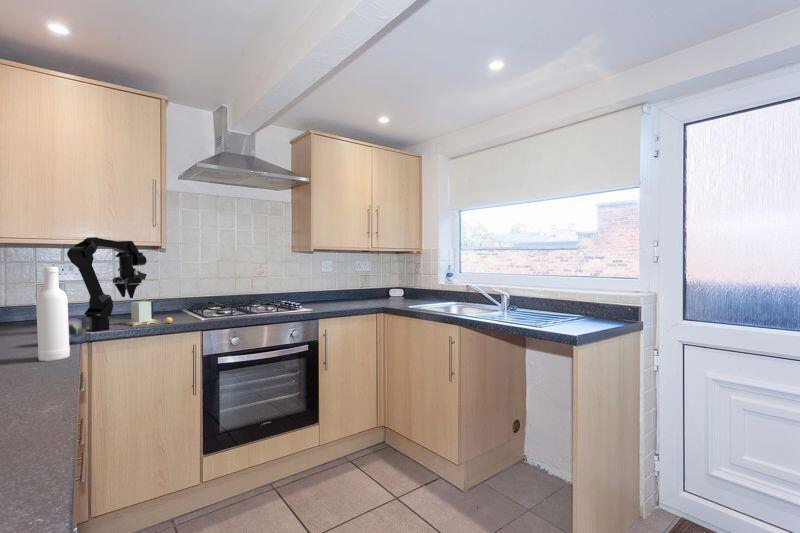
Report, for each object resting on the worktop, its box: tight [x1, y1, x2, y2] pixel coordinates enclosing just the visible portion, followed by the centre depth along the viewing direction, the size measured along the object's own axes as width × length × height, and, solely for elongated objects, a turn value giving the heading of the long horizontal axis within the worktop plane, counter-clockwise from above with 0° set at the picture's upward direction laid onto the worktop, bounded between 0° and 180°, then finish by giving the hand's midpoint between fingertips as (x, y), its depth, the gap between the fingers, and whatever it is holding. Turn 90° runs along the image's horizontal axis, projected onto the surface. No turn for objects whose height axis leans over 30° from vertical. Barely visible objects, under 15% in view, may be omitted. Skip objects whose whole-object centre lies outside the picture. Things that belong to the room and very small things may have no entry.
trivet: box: [122, 318, 161, 327], centre depth 202 cm, size 12×12×1 cm
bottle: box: [35, 266, 71, 362], centre depth 133 cm, size 8×8×30 cm
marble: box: [164, 316, 174, 324], centre depth 200 cm, size 3×3×3 cm
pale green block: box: [130, 300, 153, 322], centre depth 202 cm, size 6×6×10 cm
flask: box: [141, 297, 155, 319], centre depth 221 cm, size 9×3×11 cm, turn 109°
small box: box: [68, 314, 88, 346], centre depth 156 cm, size 11×6×10 cm, turn 113°
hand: (127, 297), depth 202 cm, fingers open, 9 cm apart
